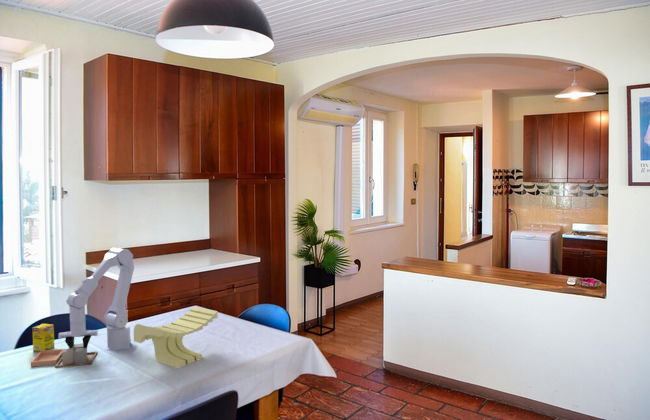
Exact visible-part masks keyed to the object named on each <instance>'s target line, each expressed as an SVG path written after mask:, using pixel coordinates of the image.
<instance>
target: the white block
mask: <svg viewBox="0 0 650 420" xmlns="http://www.w3.org/2000/svg"><path fill="white" fill-rule="evenodd" d="M61 349H62V364H63V365H65V364H71V363H74V355H73V348H69V347H68V348H61Z"/></svg>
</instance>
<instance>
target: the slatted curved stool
mask: <svg viewBox="0 0 650 420" xmlns="http://www.w3.org/2000/svg"><path fill="white" fill-rule="evenodd" d="M218 318H219V317H218V311H217V310H213V309H208V308H204V307H201V306H200V307H199V306H196V307H193V308H191V309H190V310H189V311H187V312H185V313H184V315H183V316H180V317H179V319H176V320H174V321H172V322H171V323H167V324H164V325H161V326H158V325H157V326H148V325H144V324H140V323H137V324H136V325H134V327H133V342H136V343H139V344H142V343H144V342H145V341H146V340H147V341H148V340H152V345H153V346H154V356H155V360H156V362H158V363H162V364H165V365H168V366H170V365H171V366H170V367H173V366H175V367H174V368H176V367H178V368H177V369H179V367H180V368H182V367H184V365H185V366H186V365H189V363H190V364H192V363H194V362H195V361H196V360H197V361H199V360H202V359H203V358H204V357H203V355H202V353H199V352H195V351H194V350H190V349H189V348H187V347H185V345H184V344H183V339H184V336H186V335H188V336H189V335H190V334H192V333H195V332H199V331H201V330H203V329H204V327H207V326H208V325H209V323H213V321H214V320H213V319H218ZM201 358H202V359H201ZM198 359H199V360H198ZM191 362H192V363H191ZM181 366H182V367H181Z"/></svg>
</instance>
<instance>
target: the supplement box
mask: <svg viewBox="0 0 650 420" xmlns="http://www.w3.org/2000/svg"><path fill="white" fill-rule="evenodd" d="M31 330H32V350H33V353H36V352H37V353H39V352H40V351H42V350H53V349H54V348H55V327H54V324H53V323H51V324H49V323H41V324H40V325H36V326H33V327H31Z"/></svg>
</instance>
